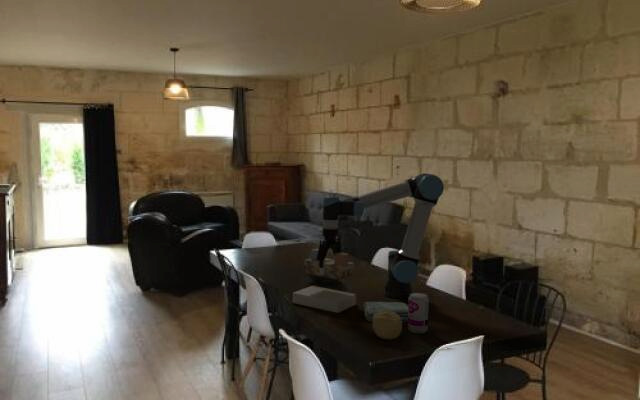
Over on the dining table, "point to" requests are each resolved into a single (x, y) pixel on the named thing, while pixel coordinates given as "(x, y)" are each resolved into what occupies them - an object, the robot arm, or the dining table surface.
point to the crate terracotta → (341, 258)
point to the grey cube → (314, 254)
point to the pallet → (329, 268)
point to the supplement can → (418, 313)
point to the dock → (324, 298)
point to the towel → (395, 307)
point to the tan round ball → (387, 324)
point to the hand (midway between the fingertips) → (328, 272)
